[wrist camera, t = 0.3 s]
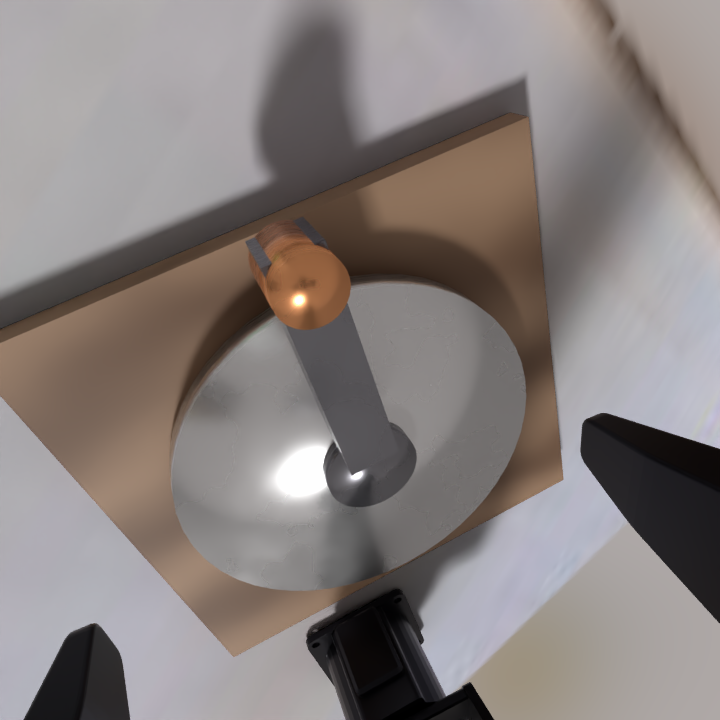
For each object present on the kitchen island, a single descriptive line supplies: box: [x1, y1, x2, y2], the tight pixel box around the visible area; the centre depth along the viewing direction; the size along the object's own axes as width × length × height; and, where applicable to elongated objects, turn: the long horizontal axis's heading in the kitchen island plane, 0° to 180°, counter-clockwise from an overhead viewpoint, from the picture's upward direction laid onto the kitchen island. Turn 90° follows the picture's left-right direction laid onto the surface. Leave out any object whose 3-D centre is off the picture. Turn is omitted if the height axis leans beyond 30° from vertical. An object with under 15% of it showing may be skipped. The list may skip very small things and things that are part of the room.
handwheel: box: [169, 217, 526, 591], centre depth 22 cm, size 19×16×4 cm
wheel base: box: [0, 113, 563, 657], centre depth 26 cm, size 21×21×1 cm
